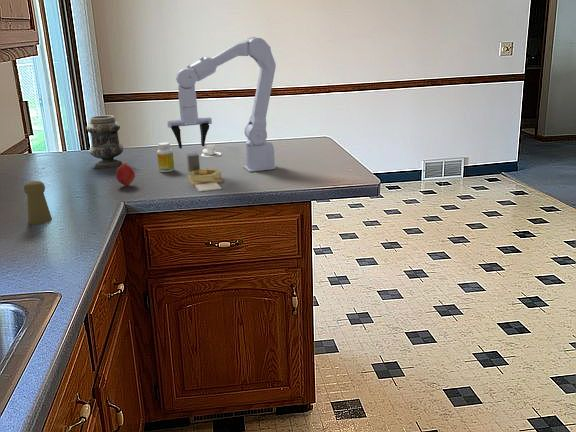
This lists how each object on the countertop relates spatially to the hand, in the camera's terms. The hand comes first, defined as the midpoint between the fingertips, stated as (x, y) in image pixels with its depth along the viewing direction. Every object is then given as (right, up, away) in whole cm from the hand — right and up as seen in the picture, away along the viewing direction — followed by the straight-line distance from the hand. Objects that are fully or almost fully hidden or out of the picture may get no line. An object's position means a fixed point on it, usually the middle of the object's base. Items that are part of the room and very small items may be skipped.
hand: (191, 146), depth 202 cm
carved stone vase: (-35, -4, +21) cm, 41 cm away
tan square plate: (+5, -11, -4) cm, 13 cm away
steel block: (0, -9, +3) cm, 10 cm away
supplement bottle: (-10, -7, +10) cm, 16 cm away
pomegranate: (-20, -14, -8) cm, 26 cm away
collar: (+5, -11, -4) cm, 13 cm away
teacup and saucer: (+4, +1, +34) cm, 35 cm away
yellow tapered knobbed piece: (-35, -25, -39) cm, 58 cm away
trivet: (+7, -14, -13) cm, 21 cm away
